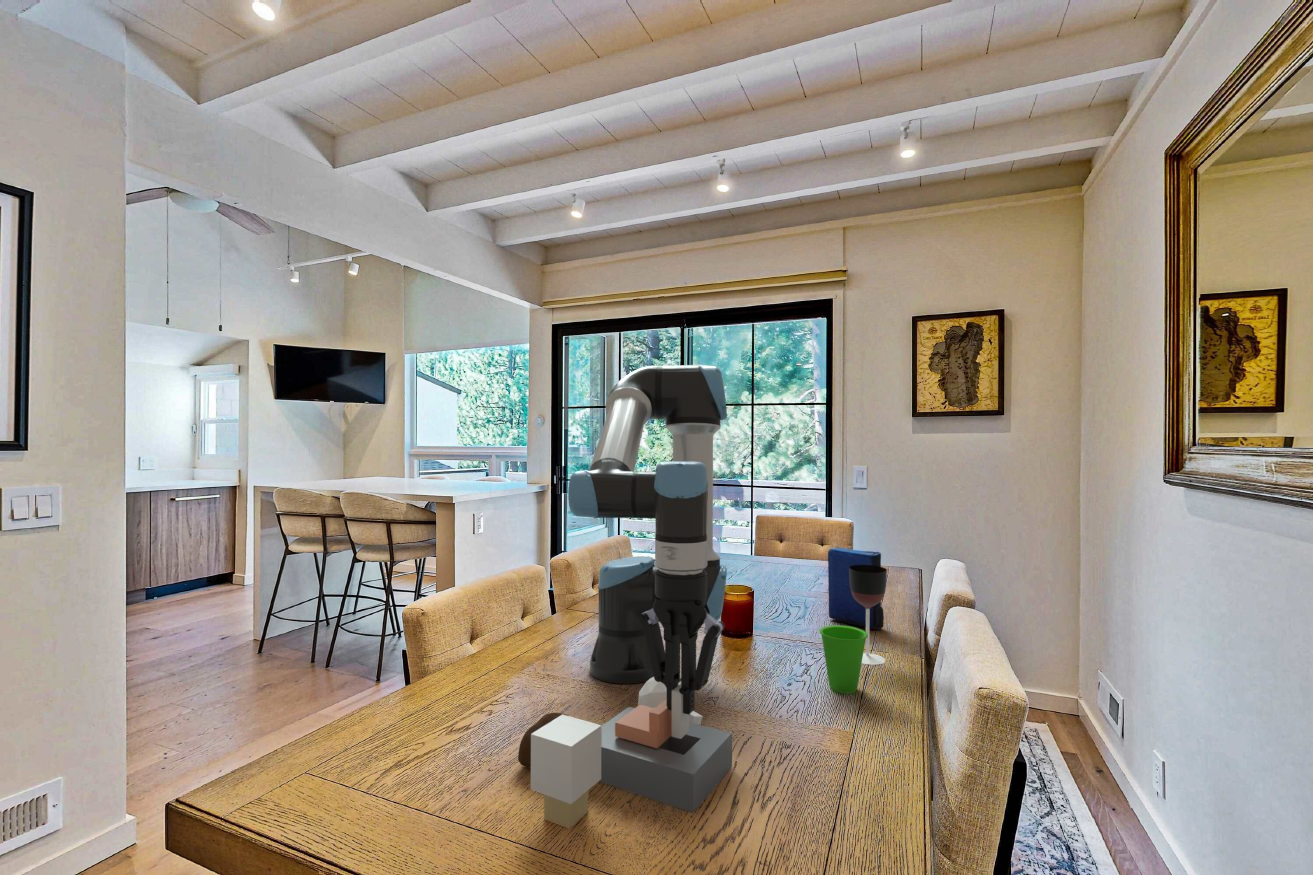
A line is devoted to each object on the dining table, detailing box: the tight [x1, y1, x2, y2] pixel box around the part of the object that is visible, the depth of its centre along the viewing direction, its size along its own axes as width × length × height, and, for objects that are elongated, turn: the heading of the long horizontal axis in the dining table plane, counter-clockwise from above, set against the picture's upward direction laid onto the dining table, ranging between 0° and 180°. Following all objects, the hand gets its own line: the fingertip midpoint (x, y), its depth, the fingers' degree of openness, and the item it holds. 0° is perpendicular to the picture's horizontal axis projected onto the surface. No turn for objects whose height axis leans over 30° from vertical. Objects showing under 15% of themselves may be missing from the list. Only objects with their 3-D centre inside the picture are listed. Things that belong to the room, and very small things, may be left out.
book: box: [827, 546, 885, 630], centre depth 162 cm, size 14×5×20 cm, turn 42°
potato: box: [517, 712, 569, 769], centre depth 92 cm, size 7×10×7 cm
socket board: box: [598, 706, 733, 814], centre depth 89 cm, size 18×13×5 cm
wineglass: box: [849, 565, 888, 666], centre depth 136 cm, size 8×9×20 cm
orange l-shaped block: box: [615, 699, 672, 748], centre depth 90 cm, size 7×7×4 cm
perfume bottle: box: [637, 677, 704, 725], centre depth 102 cm, size 9×9×12 cm
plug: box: [530, 713, 602, 829], centre depth 79 cm, size 6×6×11 cm
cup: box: [819, 624, 868, 695], centre depth 120 cm, size 9×9×11 cm
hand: (680, 733), depth 88 cm, fingers closed
